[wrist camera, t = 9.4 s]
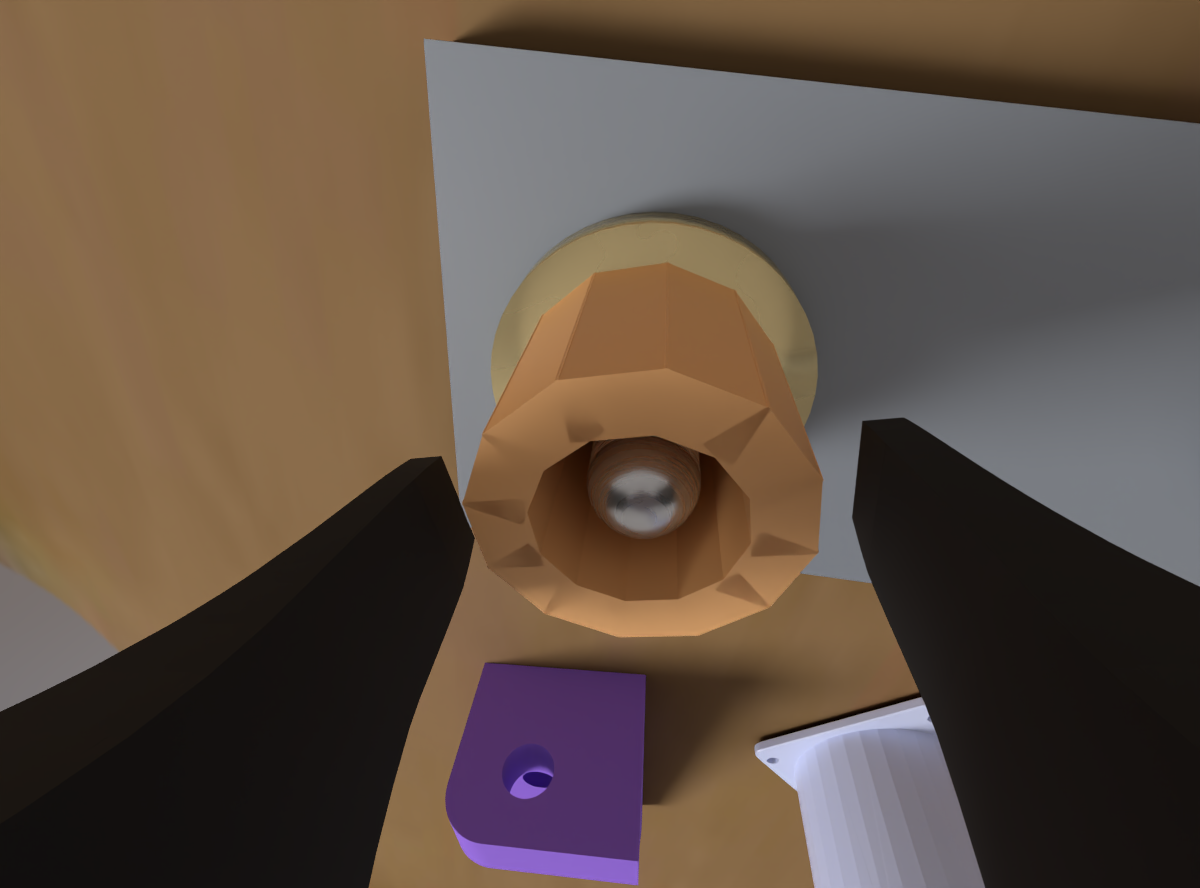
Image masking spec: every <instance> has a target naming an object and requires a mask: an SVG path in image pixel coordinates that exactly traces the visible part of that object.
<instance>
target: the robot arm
mask: <svg viewBox="0 0 1200 888" xmlns="http://www.w3.org/2000/svg"><path fill="white" fill-rule="evenodd" d="M852 520H853V523H854V527H855V531H856V534H857V538H858V542H859V545H860V549H861V552H862V556H863V559H864V562H865V566H866V569H867V572H868V575H869V577H870V580H871V582H872V584H873V587H874V589H875V591H876V594H877V596H878V598H879V601H880V603H881V605H882V608H883V610H884V612H885V615H886V617H887V619H888V621H889V624H890V626H891V628H892V630H893V633H894V635H895V637H896V640H897V642H898V644H899V646H900V649H901V651H902V653H903V655H904V658H905V660H906V662H907V665H908V667H909V669H910V671H911V674H912V676H913V678H914V680H915V683H916V685H917V687H918V690H919V692H920V694H921V696H922V697H919V698H916V699H912V700H908V701H905V702H901V703H898V704H894V705H890V706H887V707H883V708H880V709H876V710H872V711H869V712H865V713H862V714H858V715H855V716H851V717H847V718H844V719H840V720H837V721H833V722H829V723H826V724H822V725H819V726H815V727H811V728H808V729H804V730H801V731H797V732H794V733H790V734H786V735H783V736H779V737H776V738H772V739H768V740H765V741H761V742H759V743H757V744H756V745H755V755H756V756H757V758H759V759H760V760H761V761H762V762H763V763H764V764H766V765H767V766H768V767H769V768H770V769H772V770H773V771H774V772H775V773H776V774H777V775H779V776H780V777H781V778H782V779H783V780H784V781H786V782H787V783H788V784H789V785H790V786H792V787H793V788H794V789H795V790H796V791H797V792H798V796H799V802H800V808H801V813H802V819H803V825H804V830H805V836H806V842H807V847H808V853H809V859H810V864H811V870H812V876H813V881H814V887H815V888H1200V586H1198V585H1195V584H1193V583H1191V582H1189V581H1187V580H1185V579H1183V578H1181V577H1179V576H1177V575H1175V574H1173V573H1171V572H1169V571H1166V570H1164V569H1162V568H1160V567H1158V566H1156V565H1154V564H1152V563H1150V562H1148V561H1146V560H1144V559H1142V558H1140V557H1138V556H1136V555H1134V554H1132V553H1130V552H1128V551H1126V550H1124V549H1122V548H1120V547H1118V546H1116V545H1115V544H1113V543H1111V542H1109V541H1107V540H1105V539H1103V538H1102V537H1100V536H1098V535H1096V534H1094V533H1093V532H1091V531H1089V530H1087V529H1085V528H1084V527H1082V526H1080V525H1078V524H1076V523H1075V522H1073V521H1071V520H1069V519H1067V518H1066V517H1064V516H1062V515H1060V514H1058V513H1057V512H1055V511H1053V510H1051V509H1050V508H1048V507H1046V506H1045V505H1043V504H1041V503H1040V502H1038V501H1036V500H1034V499H1033V498H1031V497H1029V496H1028V495H1026V494H1024V493H1023V492H1021V491H1020V490H1018V489H1016V488H1015V487H1013V486H1011V485H1010V484H1008V483H1007V482H1005V481H1003V480H1002V479H1000V478H999V477H997V476H995V475H994V474H992V473H991V472H989V471H987V470H986V469H984V468H983V467H981V466H980V465H978V464H976V463H975V462H973V461H972V460H970V459H969V458H967V457H966V456H964V455H963V454H961V453H960V452H958V451H956V450H955V449H953V448H952V447H950V446H949V445H947V444H946V443H944V442H943V441H941V440H940V439H938V438H937V437H935V436H933V435H932V434H930V433H929V432H927V431H926V430H924V429H923V428H921V427H919V426H918V425H916V424H915V423H913V422H911V421H910V420H908V419H906V418H904V417H902V418H890V419H878V420H866V421H862V428H861V438H860V447H859V456H858V466H857V475H856V485H855V494H854V503H853V513H852ZM474 539H475V538H474V535H473V533H472V530H471V528H470V525H469V523H468V521H467V518H466V516H465V513H464V511H463V508H462V506H461V503H460V501H459V498H458V496H457V493H456V491H455V488H454V486H453V483H452V481H451V479H450V476H449V474H448V471H447V469H446V466H445V464H444V461H443V459H442V456H439V457H427V458H415V459H410V460H408V461H407V462H405V463H403V464H402V465H400V466H399V467H397V468H396V469H394V470H393V471H391V472H390V473H389V474H387V475H386V476H384V477H383V478H382V479H380V480H379V481H378V482H376V483H375V484H374V485H372V486H371V487H370V488H368V489H367V490H366V491H364V492H363V493H362V494H360V495H359V496H358V497H356V498H355V499H354V500H352V501H351V502H350V503H348V504H347V505H346V506H344V507H343V508H342V509H341V510H339V511H338V512H337V513H335V514H334V515H333V516H331V517H330V518H329V519H327V520H326V521H325V522H323V523H322V524H321V525H319V526H318V527H317V528H315V529H314V530H313V531H311V532H310V533H309V534H307V535H306V536H304V537H303V538H302V539H300V540H299V541H297V542H296V543H295V544H293V545H292V546H290V547H289V548H287V549H286V550H285V551H283V552H282V553H280V554H279V555H278V556H276V557H275V558H273V559H272V560H271V561H269V562H268V563H266V564H265V565H264V566H262V567H261V568H259V569H258V570H257V571H255V572H254V573H252V574H251V575H249V576H248V577H246V578H245V579H243V580H242V581H240V582H239V583H237V584H235V585H234V586H232V587H231V588H229V589H228V590H226V591H225V592H223V593H221V594H220V595H218V596H217V597H215V598H213V599H212V600H210V601H208V602H207V603H205V604H204V605H202V606H200V607H199V608H197V609H195V610H194V611H192V612H190V613H189V614H187V615H186V616H184V617H182V618H180V619H179V620H177V621H175V622H174V623H172V624H170V625H169V626H167V627H165V628H163V629H161V630H159V631H158V632H156V633H154V634H152V635H150V636H148V637H147V638H145V639H143V640H141V641H139V642H137V643H136V644H134V645H132V646H130V647H128V648H126V649H125V650H123V651H121V652H119V653H117V654H115V655H114V656H112V657H110V658H108V659H106V660H105V661H103V662H101V663H99V664H97V665H96V666H93V667H92V668H89V669H87V670H86V671H84V672H82V673H80V674H78V675H76V676H74V677H72V678H69V679H67V680H66V681H63V682H61V683H59V684H57V685H55V686H53V687H51V688H49V689H47V690H45V691H43V692H41V693H39V694H37V695H35V696H33V697H31V698H29V699H26V700H25V701H22V702H20V703H18V704H16V705H14V706H12V707H9V708H7V709H5V710H3V711H1V712H0V888H368V887H369V883H370V878H371V874H372V869H373V865H374V860H375V856H376V851H377V847H378V843H379V839H380V835H381V831H382V827H383V823H384V820H385V816H386V812H387V808H388V804H389V800H390V796H391V792H392V788H393V784H394V781H395V777H396V774H397V770H398V767H399V763H400V760H401V756H402V753H403V749H404V746H405V742H406V738H407V735H408V731H409V728H410V725H411V722H412V719H413V716H414V714H415V711H416V708H417V705H418V702H419V699H420V697H421V694H422V692H423V689H424V687H425V684H426V682H427V679H428V677H429V674H430V672H431V669H432V666H433V664H434V661H435V659H436V656H437V654H438V651H439V649H440V646H441V644H442V641H443V639H444V636H445V634H446V631H447V629H448V626H449V623H450V621H451V618H452V616H453V613H454V610H455V608H456V605H457V603H458V600H459V597H460V595H461V592H462V589H463V586H464V582H465V578H466V574H467V570H468V567H469V562H470V558H471V553H472V548H473V544H474Z"/></svg>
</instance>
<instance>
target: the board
mask: <svg viewBox="0 0 1200 888" xmlns="http://www.w3.org/2000/svg"><path fill="white" fill-rule="evenodd" d="M424 49H425V62H426V75H427V88H428V101H429V113H430V126H431V139H432V152H433V165H434V178H435V191H436V204H437V216H438V229H439V242H440V255H441V268H442V281H443V294H444V306H445V319H446V332H447V345H448V358H449V371H450V384H451V397H452V409H453V422H454V435H455V448H456V461H457V474H458V487H459V500H460V503H461V506H462V508H463V511H464V513H465V516H466V518H467V521H468V523H469V525H470V527H472V526H471V524H470V521H469V519H468V516H467V514H466V512H465V509H464V507H463V505H462V501H463V499H464V497H465V493H466V490H467V486H468V483H469V479H470V476H471V473H472V469H473V466H474V462H475V459H476V455H477V452H478V449H479V445H480V442H481V438H482V433H483V431H484V429H485V427H486V425H487V423H488V421H489V419H490V417H491V415H492V413H493V411H494V409H495V407H496V402H495V398H494V394H493V390H492V380H491V353H492V348H493V343H494V338H495V333H496V331H497V328H498V325H499V322H500V319H501V316H502V314H503V312H504V311H505V309H506V307H507V305H508V303H509V301H510V299H511V297H512V296H513V294H514V293H515V291H516V290H517V288H518V287H519V285H520V284H521V282H522V281H523V280H524V278H525V277H526V276H527V274H528V273H529V272H530V270H531V269H532V268H533V266H534V265H535V264H536V263H537V262H538V261H539V260H540V259H541V258H542V257H543V256H544V255H545V254H546V253H547V252H548V251H549V250H550V249H552V248H553V247H554V246H556V245H557V244H558V243H560V242H561V241H562V240H564V239H565V238H566V237H568V236H570V235H572V234H574V233H575V232H577V231H579V230H581V229H583V228H584V227H587V226H589V225H592V224H595V223H597V222H600V221H602V220H605V219H608V218H613V217H617V216H621V215H626V214H632V213H643V212H668V213H679V214H684V215H689V216H695V217H699V218H702V219H705V220H708V221H711V222H714V223H717V224H720V225H722V226H724V227H726V228H728V229H730V230H732V231H734V232H736V233H738V234H740V235H741V236H743V237H744V238H745V239H747V240H748V241H750V242H751V243H752V244H754V245H755V246H757V247H758V248H759V249H760V250H761V251H762V252H763V253H764V254H766V255H767V256H768V257H769V258H770V259H771V260H772V261H773V262H774V263H775V264H776V266H777V267H778V268H779V270H780V271H781V272H782V274H783V275H784V276H785V278H786V279H787V280H788V282H789V284H790V286H791V288H792V290H793V291H794V293H795V295H796V297H797V299H798V301H799V302H800V304H801V306H802V308H803V310H804V312H805V314H806V315H807V318H808V321H809V324H810V327H811V329H812V332H813V335H814V340H815V346H816V351H817V363H818V378H817V386H816V393H815V398H814V401H813V405H812V408H811V412H810V414H809V417H808V419H807V421H806V423H805V426H804V428H805V431H806V433H807V436H808V439H809V442H810V444H811V447H812V450H813V452H814V455H815V458H816V460H817V463H818V466H819V469H820V471H821V474H822V477H823V480H824V481H823V485H822V500H821V515H820V530H819V545H818V550H819V552H818V554H817V555H816V556H815V557H814V558H813V559H812V560H811V561H810V562H809V564H808V565H807V566H806V567H805V568H804V569H803V570H802V572H801V573H803V574H810V575H817V576H824V577H832V578H839V579H846V580H853V581H860V582H867V583H872V582H871V580H870V577H869V575H868V572H867V569H866V566H865V562H864V559H863V556H862V552H861V549H860V545H859V542H858V538H857V534H856V531H855V527H854V523H853V520H852V513H853V503H854V494H855V485H856V475H857V466H858V456H859V447H860V438H861V428H862V421H866V420H878V419H890V418H902V417H904V418H906V419H908V420H910V421H911V422H913V423H915V424H916V425H918V426H919V427H921V428H923V429H924V430H926V431H927V432H929V433H930V434H932V435H933V436H935V437H937V438H938V439H940V440H941V441H943V442H944V443H946V444H947V445H949V446H950V447H952V448H953V449H955V450H956V451H958V452H960V453H961V454H963V455H964V456H966V457H967V458H969V459H970V460H972V461H973V462H975V463H976V464H978V465H980V466H981V467H983V468H984V469H986V470H987V471H989V472H991V473H992V474H994V475H995V476H997V477H999V478H1000V479H1002V480H1003V481H1005V482H1007V483H1008V484H1010V485H1011V486H1013V487H1015V488H1016V489H1018V490H1020V491H1021V492H1023V493H1024V494H1026V495H1028V496H1029V497H1031V498H1033V499H1034V500H1036V501H1038V502H1040V503H1041V504H1043V505H1045V506H1046V507H1048V508H1050V509H1051V510H1053V511H1055V512H1057V513H1058V514H1060V515H1062V516H1064V517H1066V518H1067V519H1069V520H1071V521H1073V522H1075V523H1076V524H1078V525H1080V526H1082V527H1084V528H1085V529H1087V530H1089V531H1091V532H1093V533H1094V534H1096V535H1098V536H1100V537H1102V538H1103V539H1105V540H1107V541H1109V542H1111V543H1113V544H1115V545H1116V546H1118V547H1120V548H1122V549H1124V550H1126V551H1128V552H1130V553H1132V554H1134V555H1136V556H1138V557H1140V558H1142V559H1144V560H1146V561H1148V562H1150V563H1152V564H1154V565H1156V566H1158V567H1160V568H1162V569H1164V570H1166V571H1169V572H1171V573H1173V574H1175V575H1177V576H1179V577H1181V578H1183V579H1185V580H1187V581H1189V582H1191V583H1193V584H1195V585H1198V586H1200V123H1191V122H1182V121H1173V120H1164V119H1155V118H1146V117H1136V116H1127V115H1118V114H1109V113H1100V112H1091V111H1082V110H1072V109H1063V108H1054V107H1045V106H1036V105H1027V104H1018V103H1009V102H999V101H990V100H981V99H972V98H963V97H954V96H945V95H936V94H926V93H917V92H908V91H899V90H890V89H881V88H872V87H863V86H853V85H844V84H835V83H826V82H817V81H808V80H799V79H790V78H780V77H771V76H762V75H753V74H744V73H735V72H726V71H716V70H707V69H698V68H689V67H680V66H671V65H662V64H653V63H643V62H634V61H625V60H616V59H607V58H598V57H589V56H580V55H570V54H561V53H552V52H543V51H534V50H525V49H516V48H507V47H497V46H488V45H479V44H470V43H461V42H452V41H441V40H431V39H424Z"/></svg>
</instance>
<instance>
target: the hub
mask: <svg viewBox="0 0 1200 888" xmlns="http://www.w3.org/2000/svg"><path fill="white" fill-rule="evenodd" d="M666 262H667V263H668V262H669V263H670V264H672V265H675V266H677V267H680V268H682V269H684V270H687V271H689V272H692V273H694V274H697V275H699V276H702V277H704V278H706V279H709V280H711V281H714V282H716V283H719V284H721V285H724V286H726V287H728V288H731V289H733V290H734V289H735V290H736V291H737V294H738V295H739V296H740V298H741V299H742V301H743V302H744V304H745V305H746V306H747V308H748V309H749V311H750V312H751V314H752V315H753V316H754V318H755V319H756V321H757V322H758V324H759V325H760V326H761V328H762V329H763V331H764V332H765V334H766V335H767V336H768V338H769V339H770V341H771V342H772V343H773V344H774V347H775V350H776V352H777V355H778V358H779V360H780V363H781V366H782V369H783V371H784V374H785V377H786V379H787V382H788V385H789V387H790V390H791V393H792V396H793V398H794V401H795V404H796V406H797V409H798V412H799V415H800V417H801V420H802V423H803V425H804V426H805V423H806V421H807V419H808V417H809V414H810V412H811V408H812V405H813V401H814V398H815V393H816V386H817V378H818V363H817V351H816V346H815V340H814V335H813V332H812V329H811V327H810V324H809V321H808V318H807V315H806V314H805V312H804V310H803V308H802V306H801V304H800V302H799V301H798V299H797V297H796V295H795V293H794V291H793V290H792V288H791V286H790V284H789V282H788V280H787V279H786V278H785V276H784V275H783V274H782V272H781V271H780V270H779V268H778V267H777V266H776V264H775V263H774V262H773V261H772V260H771V259H770V258H769V257H768V256H767V255H766V254H764V253H763V252H762V251H761V250H760V249H759V248H758V247H757V246H755V245H754V244H752V243H751V242H750V241H748V240H747V239H745V238H744V237H743V236H741V235H740V234H738V233H736V232H734V231H732V230H730V229H728V228H726V227H724V226H722V225H720V224H717V223H714V222H711V221H708V220H705V219H702V218H699V217H695V216H689V215H684V214H679V213H668V212H643V213H632V214H626V215H621V216H617V217H613V218H608V219H605V220H602V221H600V222H597V223H595V224H592V225H589V226H587V227H584V228H583V229H581V230H579V231H577V232H575V233H574V234H572V235H570V236H568V237H566V238H565V239H564V240H562V241H561V242H560V243H558V244H557V245H556V246H554V247H553V248H552V249H550V250H549V251H548V252H547V253H546V254H545V255H544V256H543V257H542V258H541V259H540V260H539V261H538V262H537V263H536V264H535V265H534V266H533V268H532V269H531V270H530V272H529V273H528V274H527V276H526V277H525V278H524V280H523V281H522V282H521V284H520V285H519V287H518V288H517V290H516V291H515V293H514V294H513V296H512V297H511V299H510V301H509V303H508V305H507V307H506V309H505V311H504V312H503V314H502V316H501V319H500V322H499V325H498V328H497V331H496V333H495V338H494V343H493V348H492V353H491V380H492V390H493V394H494V398H495V402H496V405H497V403H498V401H499V399H500V397H501V395H502V393H503V391H504V389H505V387H506V385H507V383H508V381H509V379H510V377H511V375H512V373H513V371H514V369H515V367H516V365H517V363H518V361H519V359H520V357H521V355H522V353H523V351H524V349H525V347H526V345H527V343H528V341H529V340H530V338H531V336H532V334H533V332H534V330H535V328H536V326H537V324H538V322H539V320H540V318H541V316H542V314H545V313H546V312H547V311H548V310H549V309H551V308H552V307H553V306H554V305H556V304H557V303H558V302H559V301H561V300H562V299H563V298H564V297H565V296H567V295H568V294H569V293H570V292H572V291H573V290H574V289H575V288H577V287H578V286H579V285H580V284H582V283H583V282H584V281H585V280H586V279H588V278H589V277H590V276H591V275H593V273H595V272H596V273H598V272H605V271H612V270H619V269H626V268H633V267H640V266H647V265H654V264H661V263H666ZM700 489H701V474H700V461H699V452H698V451H696V450H693V449H690V448H687V447H685V446H682V445H679V444H677V443H674V442H671V441H668V440H666V439H663V438H660V437H657V436H644V437H632V438H620V439H609V440H597V441H594V442H593V447H592V452H591V457H590V462H589V467H588V472H587V490H588V496H589V499H590V502H591V504H592V506H593V508H594V510H595V512H596V513H597V515H598V516H599V518H600V519H601V520H602V521H603V522H604V523H605V524H606V525H607V526H609V527H610V528H611V529H613V530H614V531H616V532H618V533H620V534H622V535H625V536H628V537H631V538H637V539H651V538H657V537H660V536H663V535H666V534H668V533H670V532H672V531H674V530H675V529H677V528H678V527H679V526H681V525H682V524H683V523H684V522H685V521H686V520H687V519H688V517H689V516H690V515H691V514H692V512H693V510H694V508H695V506H696V504H697V501H698V499H699V495H700Z"/></svg>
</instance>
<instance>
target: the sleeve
mask: <svg viewBox="0 0 1200 888" xmlns="http://www.w3.org/2000/svg"><path fill="white" fill-rule="evenodd" d="M644 436H657V437H660V438H663V439H666V440H668V441H671V442H674V443H677V444H679V445H682V446H685V447H687V448H690V449H693V450H696V451H698V452H699V461H700V474H701V489H700V495H699V499H698V501H697V504H696V506H695V508H694V510H693V512H692V514H691V515H690V516H689V517H688V519H687V520H686V521H685V522H684V523H683V524H682V525H681V526H679V527H678V528H677V529H675V530H674V531H672V532H670V533H668V534H666V535H663V536H660V537H657V538H651V539H637V538H631V537H628V536H625V535H622V534H620V533H618V532H616V531H614V530H613V529H611V528H610V527H609V526H607V525H606V524H605V523H604V522H603V521H602V520H601V519H600V518H599V516H598V515H597V513H596V512H595V510H594V508H593V506H592V504H591V502H590V499H589V496H588V490H587V472H588V467H589V462H590V457H591V452H592V447H593V442H594V441H597V440H609V439H620V438H632V437H644ZM823 481H824V480H823V477H822V474H821V471H820V469H819V466H818V463H817V460H816V458H815V455H814V452H813V450H812V447H811V444H810V442H809V439H808V436H807V433H806V431H805V428H804V425H803V423H802V420H801V417H800V415H799V412H798V409H797V406H796V404H795V401H794V398H793V396H792V393H791V390H790V387H789V385H788V382H787V379H786V377H785V374H784V371H783V369H782V366H781V363H780V360H779V358H778V355H777V352H776V350H775V347H774V344H773V343H772V342H771V341H770V339H769V338H768V336H767V335H766V334H765V332H764V331H763V329H762V328H761V326H760V325H759V324H758V322H757V321H756V319H755V318H754V316H753V315H752V314H751V312H750V311H749V309H748V308H747V306H746V305H745V304H744V302H743V301H742V299H741V298H740V296H739V295H738V294H737V291H736V290H735V289H734V290H733V289H731V288H728V287H726V286H724V285H721V284H719V283H716V282H714V281H711V280H709V279H706V278H704V277H702V276H699V275H697V274H694V273H692V272H689V271H687V270H684V269H682V268H680V267H677V266H675V265H672V264H670V263H669V262H668V263H667V262H666V263H661V264H654V265H647V266H640V267H633V268H626V269H619V270H612V271H605V272H598V273H596V272H595V273H593V275H591V276H590V277H589V278H588V279H586V280H585V281H584V282H583V283H582V284H580V285H579V286H578V287H577V288H575V289H574V290H573V291H572V292H570V293H569V294H568V295H567V296H565V297H564V298H563V299H562V300H561V301H559V302H558V303H557V304H556V305H554V306H553V307H552V308H551V309H549V310H548V311H547V312H546V313H545V314H542V316H541V318H540V320H539V322H538V324H537V326H536V328H535V330H534V332H533V334H532V336H531V338H530V340H529V341H528V343H527V345H526V347H525V349H524V351H523V353H522V355H521V357H520V359H519V361H518V363H517V365H516V367H515V369H514V371H513V373H512V375H511V377H510V379H509V381H508V383H507V385H506V387H505V389H504V391H503V393H502V395H501V397H500V399H499V401H498V403H497V405H496V407H495V409H494V411H493V413H492V415H491V417H490V419H489V421H488V423H487V425H486V427H485V429H484V431H483V433H482V438H481V442H480V445H479V449H478V452H477V455H476V459H475V462H474V466H473V469H472V473H471V476H470V479H469V483H468V486H467V490H466V493H465V497H464V499H463V501H462V505H463V507H464V509H465V512H466V514H467V516H468V519H469V521H470V524H471V526H472V529H473V531H474V534H475V536H476V539H477V541H478V544H479V546H480V549H481V551H482V553H483V556H484V558H485V561H486V563H487V567H488V568H489V569H491V570H492V571H493V572H494V573H495V574H497V575H498V576H499V577H500V578H502V579H503V580H504V581H505V582H507V583H508V584H509V585H510V586H511V587H513V588H514V589H515V590H516V591H518V592H519V593H520V594H521V595H523V596H524V597H525V598H526V599H527V600H529V601H530V602H531V603H532V604H534V605H535V606H536V607H537V608H539V609H540V610H541V611H542V612H543V613H544V614H547V615H551V616H554V617H557V618H560V619H563V620H566V621H569V622H572V623H576V624H579V625H582V626H585V627H588V628H591V629H594V630H598V631H601V632H604V633H607V634H610V635H613V636H616V637H658V636H699V635H701V634H703V633H706V632H708V631H711V630H714V629H716V628H719V627H721V626H724V625H726V624H729V623H731V622H734V621H736V620H739V619H742V618H744V617H747V616H749V615H752V614H754V613H757V612H759V611H762V610H764V609H767V608H770V607H771V605H772V604H773V603H774V602H775V601H776V600H777V599H778V597H779V596H780V595H781V594H782V593H783V592H784V591H785V590H786V588H787V587H788V586H789V585H790V584H791V583H792V582H793V581H794V579H795V578H796V577H797V576H798V575H799V574H800V573H801V572H802V570H803V569H804V568H805V567H806V566H807V565H808V564H809V562H810V561H811V560H812V559H813V558H814V557H815V556H816V555H817V554H818V552H819V550H818V545H819V530H820V515H821V500H822V485H823Z"/></svg>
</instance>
